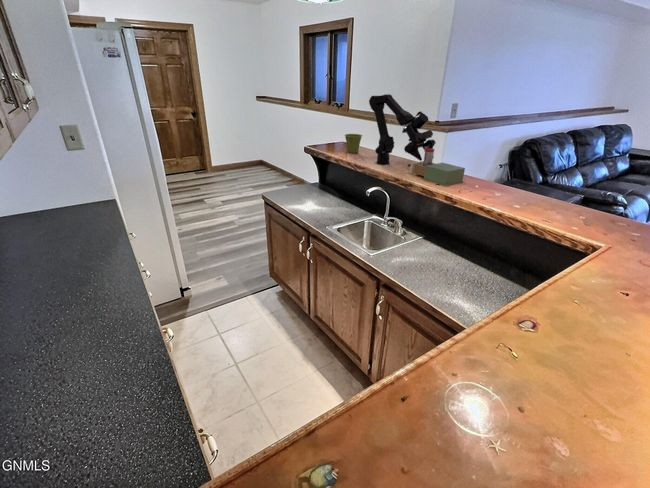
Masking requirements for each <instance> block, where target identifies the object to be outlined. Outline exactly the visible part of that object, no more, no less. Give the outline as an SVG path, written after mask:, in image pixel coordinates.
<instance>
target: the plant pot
mask: <svg viewBox="0 0 650 488" xmlns="http://www.w3.org/2000/svg"><path fill="white" fill-rule="evenodd" d="M344 137H345V138H344V139H345V142H346V143H345V144H346V152H347V153H349V154H357V153H359V149H360V145H361V140H362V137H363V134H359V133H345V134H344Z"/></svg>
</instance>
